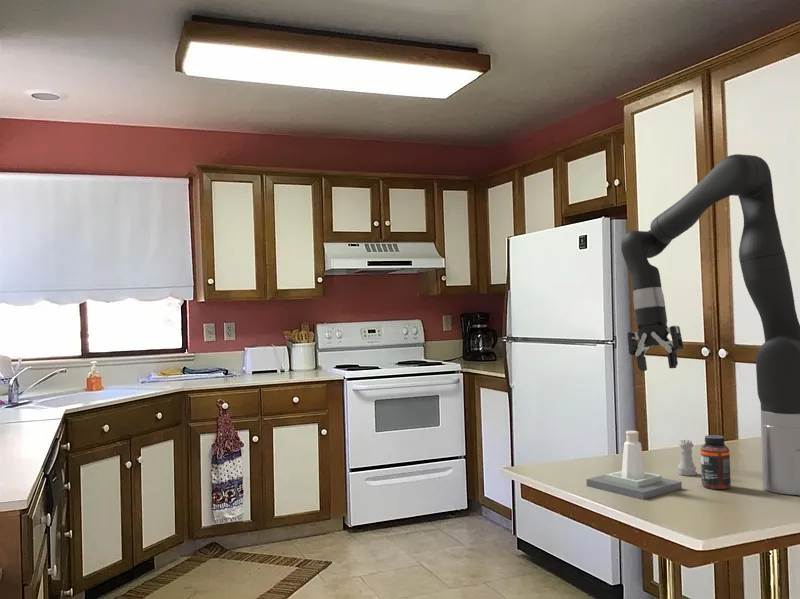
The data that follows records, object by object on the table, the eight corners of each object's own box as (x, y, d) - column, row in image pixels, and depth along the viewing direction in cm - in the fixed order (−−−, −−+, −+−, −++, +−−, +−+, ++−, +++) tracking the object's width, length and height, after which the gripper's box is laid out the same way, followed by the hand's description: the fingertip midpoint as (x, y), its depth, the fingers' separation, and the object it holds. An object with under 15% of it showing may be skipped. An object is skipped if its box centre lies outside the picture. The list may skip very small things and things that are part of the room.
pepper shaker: (637, 484, 156) (636, 434, 157) (616, 480, 161) (614, 431, 161) (650, 480, 160) (649, 431, 160) (629, 476, 164) (628, 428, 164)
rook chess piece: (698, 476, 169) (697, 442, 169) (678, 476, 170) (677, 442, 170) (694, 472, 173) (693, 439, 173) (675, 471, 174) (674, 439, 174)
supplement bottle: (732, 485, 160) (730, 435, 160) (729, 491, 155) (728, 439, 155) (703, 482, 163) (702, 433, 163) (699, 488, 158) (698, 437, 158)
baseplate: (681, 488, 158) (681, 476, 158) (643, 499, 150) (642, 486, 150) (625, 476, 170) (624, 465, 170) (586, 485, 162) (586, 473, 162)
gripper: (617, 310, 187) (625, 372, 184) (665, 302, 175) (674, 367, 173) (634, 310, 191) (642, 371, 189) (682, 302, 180) (691, 366, 178)
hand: (658, 369), depth 181 cm, fingers open, 8 cm apart
